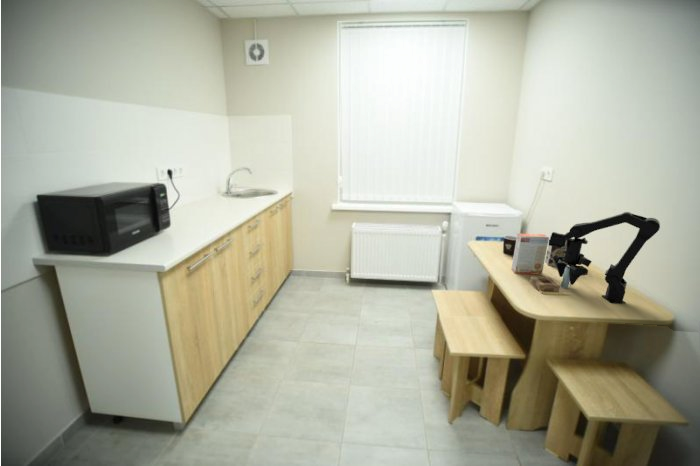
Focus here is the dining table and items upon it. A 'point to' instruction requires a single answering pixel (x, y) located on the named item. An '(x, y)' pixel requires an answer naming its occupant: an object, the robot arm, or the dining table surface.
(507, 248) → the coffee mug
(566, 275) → the light blue cylinder
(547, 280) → the brown square frame
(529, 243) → the cracker box
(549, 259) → the coffee box
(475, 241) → the dining table surface
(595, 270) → the dining table surface
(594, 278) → the dining table surface
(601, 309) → the dining table surface
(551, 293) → the lace
